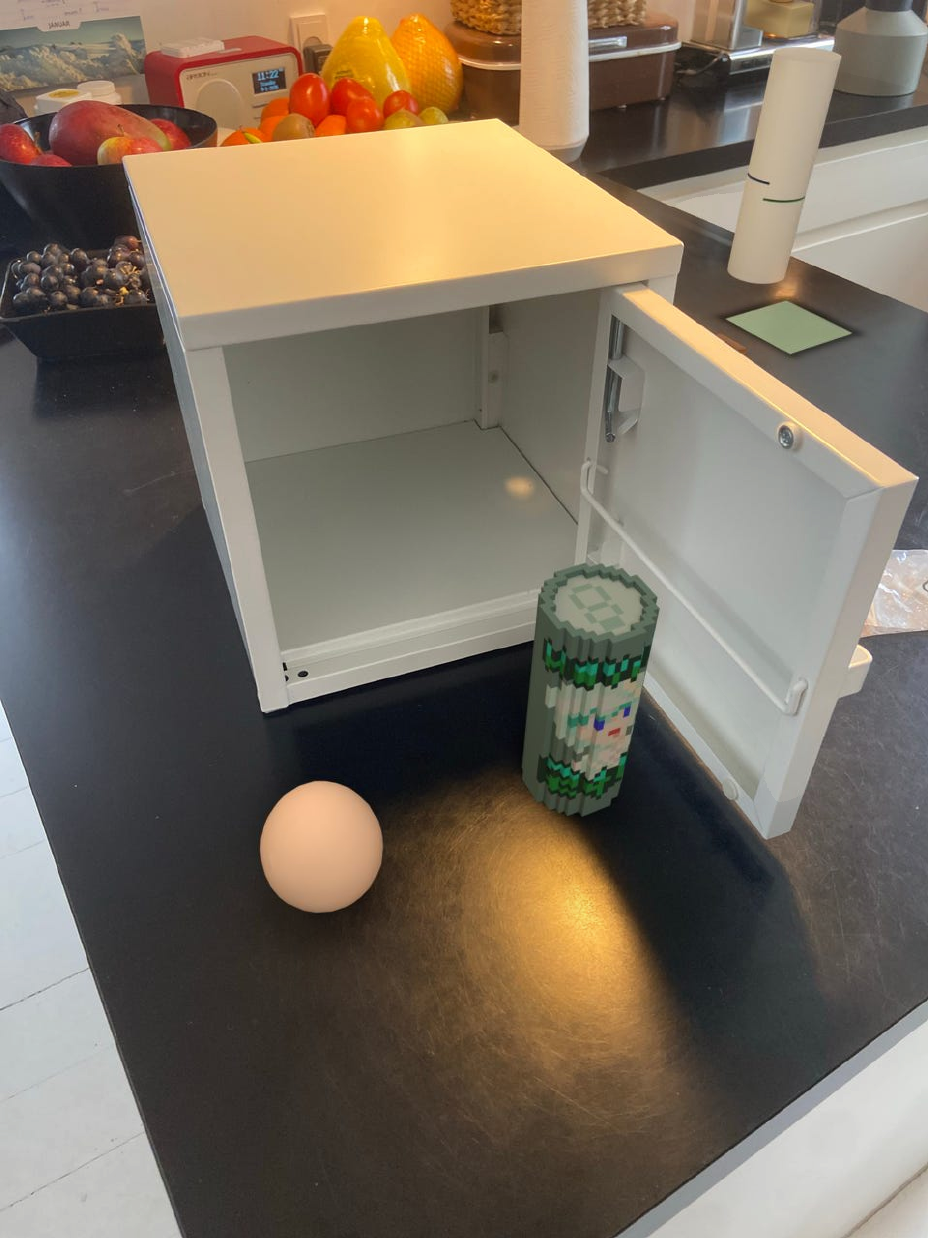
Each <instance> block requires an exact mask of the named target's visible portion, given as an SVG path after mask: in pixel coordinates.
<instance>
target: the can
mask: <svg viewBox="0 0 928 1238" xmlns="http://www.w3.org/2000/svg"><path fill="white" fill-rule="evenodd" d="M537 595H538V596H537V606H536V615H535V616H536V617H535V624H534V625H535V627H534V636H533V646H532V647H533V648H532V655H531V657H532V658H531V667H530V678H529V686H528V687H529V688H528V698H527V709H526V718H525V730H524V738H523V739H524V740H523V748H522V750H523V751H522V759H521V760H522V761H521V769H522V775H521V780H522V782H523V783H524V785H525V787H526V788H527V790H528V791H529V793H530V795H531V796H532V798H533V799H534V801H535V803H536V804H538V803H542V802H543V804H544V805H545V807H546V808H547V810H548V811H549V812H550V811H552V810H555V811H556V813H557V814H561V813H564V814H565V816H566V817H569V816H572V815H574V814H576V813H578V814H579V815H580V816H581V817H584V816H587V815H589V814H592V813H595V812H597V811H599V810H602V809H605V808H607V807H609V806H611V801H612V799H614V798H616V797H618V796H619V791H620V788H621V785H622V781H623V777H624V773H625V767H626V764H627V758H628V755H629V750H630V745H631V741H632V736H633V733H634V732H633V731H634V728H635V723H636V718H637V714H638V710H639V706H640V700H641V695H642V691H643V688H644V687H643V686H644V682H645V677H646V673H647V668H648V664H649V659H650V655H651V651H652V646H653V643H654V638H655V632H656V629H657V628H656V627H657V623H658V619H659V615H660V609H661V608H660V607H659V605H658V604H657V602H658V597H659V596H657V595H656V594H655V592H654V591H653V590H651V588H650V587H649V586H648V585H647V584H646V583H645V581H644V580H643V579H642V578H641V577H640V576H639V575H638V574H634V575H630V574H629V573H628V572H627V571H626V570H625V569H624V568H623V567H621V568H617V569H616V568H615V566H613V565H609V566H606V565H604V563H603V562H601V563H598V564H594V565H590V566H589V564H588V563H587V562H583V563H579V564H576V565H574V566H570V567H566V568H563V569H560V570H556V571H554V572H553V576H552V578H548V579H544V583H543V586H541V589H540V592H539V593H538V594H537Z"/></svg>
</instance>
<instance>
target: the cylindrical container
mask: <svg viewBox="0 0 928 1238" xmlns="http://www.w3.org/2000/svg"><path fill="white" fill-rule="evenodd" d="M841 61H842V55H841V54H839V53H837V52H835V51H832V50H827V49H823V48H816V47H806V46H787V47H780V48H777V49H774V50H773V53H772V59H771V63H770V67H769V71H768V76H767V81H766V86H765V91H764V96H763V100H762V105H761V109H760V113H759V119H758V123H757V128H756V132H755V137H754V142H753V146H752V151H751V156H750V160H749V165H748V169H747V173H746V174H747V175H746V180H745V185H744V189H743V193H742V198H741V203H740V207H739V213H738V215H737V222H736V226H735V230H734V236H733V240H732V245H731V250H730V255H729V257H728V263H727V268H726V271H727V273H728V274H729V276H731V277H733V278H735V279H737V280H739V281H743V282H745V283H750V284H751V283H752V284H759V285H760V284H761V285H765V284H767V285H769V284H775V283H779V282H781V281H783V280H784V279H785V278H786V274H787V270H788V266H789V261H790V258H791V254H792V252H793V251H792V250H793V246H794V243H795V238H796V235H797V231H798V227H799V223H800V219H801V215H802V212H803V208H804V203H805V200H806V196H807V194H808V193H807V192H808V189H809V185H810V181H811V177H812V173H813V170H814V166H815V162H816V159H817V155H818V150H819V147H820V143H821V139H822V136H823V130H824V126H825V123H826V119H827V115H828V111H829V108H830V104H831V99H832V95H833V92H834V88H835V85H836V81H837V77H838V73H839V68H840V65H841Z"/></svg>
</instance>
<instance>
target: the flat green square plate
mask: <svg viewBox="0 0 928 1238" xmlns="http://www.w3.org/2000/svg"><path fill="white" fill-rule="evenodd" d="M725 320H727V321H728V322H730V323H732V324H734V325H736V326H737V327H739V328H741V329H743V330H745V331H746V332H748V333H749V334H751V335H754V336H756V337H758V338H760V339H761V340H763V341H765V342H767V343H768V344H770V345H772V346H774V347H776V348H778V349H780V350H781V351H783V352H784V353H785V352H786V353H787V354H789V355H793V354H795V353H798V352H801V351H804V350H807V349H810V348H813V347H816V346H819V345H821V344H825V343H829V342H831V341H834V340H838V339H840V338H844V337H846V336H849V335H851V334H853V333H852V332H851V331H849V330H847V329H845V328H842V327H841V326H839V325H837V324H835V323H833V322H831V321H829V320H827V319H824V318H823V317H820V316H819V315H816V314H815V313H812V312H811V311H808V310H807V309H804V308H803V307H801V306H799V305H796V304H794V303H792V302H791V301H788V300H784V301H780V302H777V303H773V304H770V305H767V306H764V307H760V308H757V309H754V310H750V311H746V312H744V313H740V314H737V315H734V316H730V317H727V318H725Z"/></svg>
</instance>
